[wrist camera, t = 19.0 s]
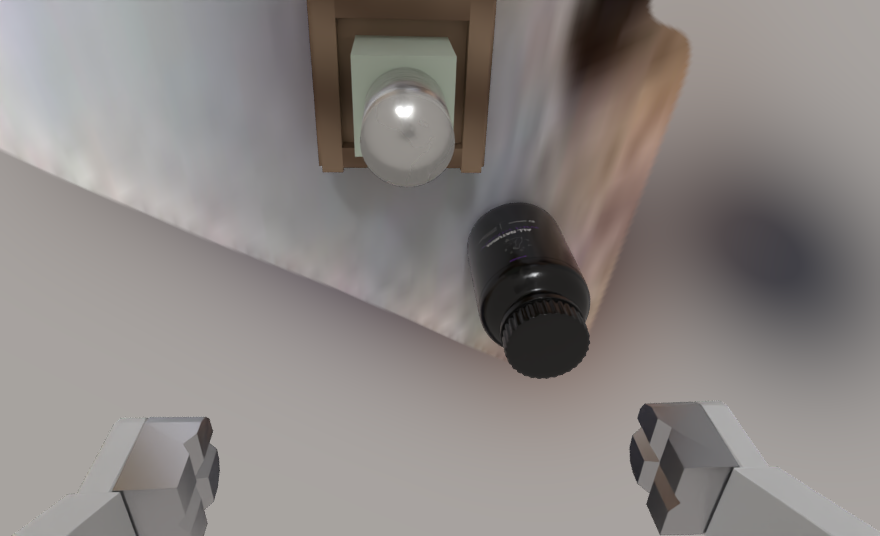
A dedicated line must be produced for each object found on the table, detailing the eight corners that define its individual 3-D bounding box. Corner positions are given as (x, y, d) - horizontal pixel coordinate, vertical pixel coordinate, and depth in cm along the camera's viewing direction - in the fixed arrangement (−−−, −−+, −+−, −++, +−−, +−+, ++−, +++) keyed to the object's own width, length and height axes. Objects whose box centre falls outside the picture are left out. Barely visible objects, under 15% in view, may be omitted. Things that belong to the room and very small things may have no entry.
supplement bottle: (500, 182, 40) (538, 275, 30) (577, 226, 43) (637, 327, 32) (446, 257, 43) (464, 366, 33) (521, 295, 45) (560, 408, 35)
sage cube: (355, 35, 32) (350, 54, 28) (447, 37, 32) (456, 56, 28) (358, 125, 35) (355, 156, 30) (444, 126, 35) (452, 156, 31)
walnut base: (311, -24, 33) (303, -16, 30) (489, -18, 34) (500, -10, 30) (323, 148, 38) (317, 172, 35) (477, 149, 39) (486, 172, 36)
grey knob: (362, 67, 28) (357, 95, 24) (446, 67, 28) (456, 95, 24) (366, 147, 30) (362, 187, 26) (444, 147, 30) (453, 186, 26)
